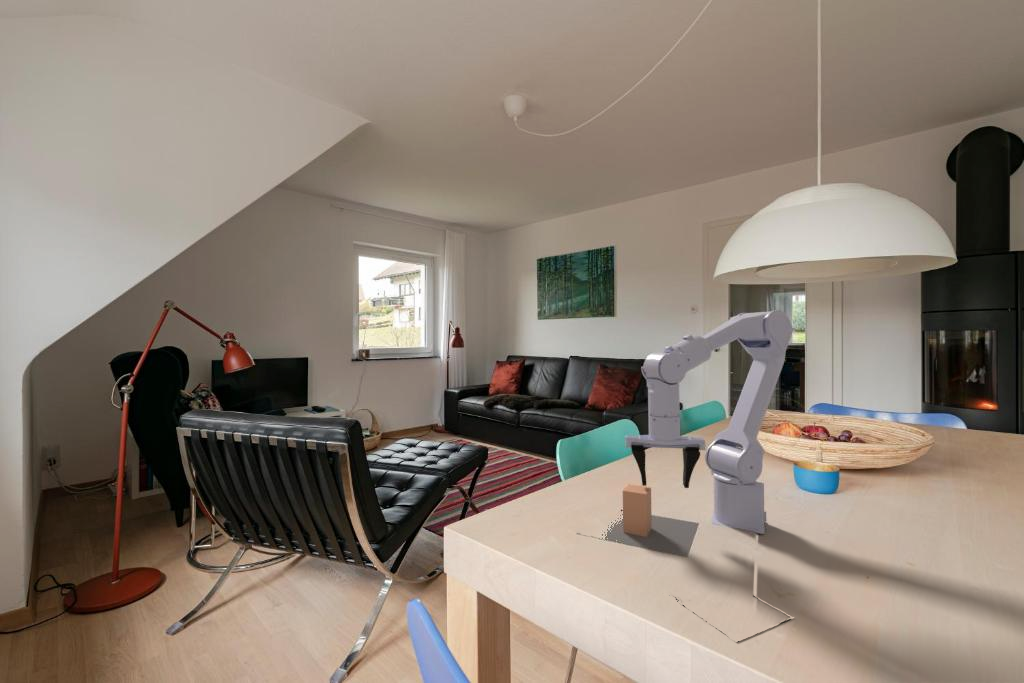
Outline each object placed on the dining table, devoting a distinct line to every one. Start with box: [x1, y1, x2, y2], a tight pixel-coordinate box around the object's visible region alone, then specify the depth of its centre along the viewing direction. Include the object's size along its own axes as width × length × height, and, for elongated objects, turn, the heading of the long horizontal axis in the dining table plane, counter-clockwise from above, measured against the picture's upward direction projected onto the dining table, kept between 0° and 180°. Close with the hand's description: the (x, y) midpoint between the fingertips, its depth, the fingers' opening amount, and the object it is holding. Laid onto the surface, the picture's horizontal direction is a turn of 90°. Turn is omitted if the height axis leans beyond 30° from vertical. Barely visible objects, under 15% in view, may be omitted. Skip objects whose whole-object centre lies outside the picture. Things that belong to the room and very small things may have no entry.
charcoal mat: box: [598, 514, 699, 558], centre depth 88 cm, size 20×16×1 cm
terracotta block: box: [622, 483, 652, 537], centre depth 87 cm, size 4×4×8 cm
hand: (664, 485), depth 87 cm, fingers open, 7 cm apart
